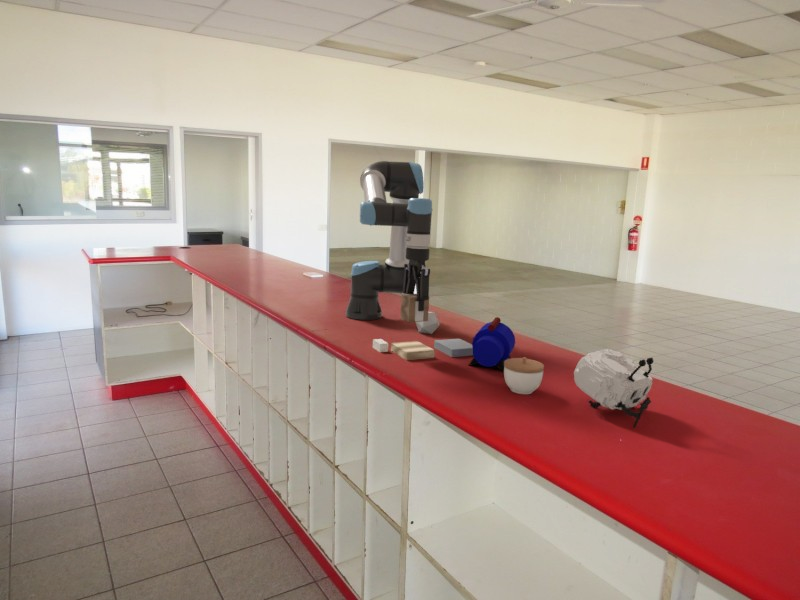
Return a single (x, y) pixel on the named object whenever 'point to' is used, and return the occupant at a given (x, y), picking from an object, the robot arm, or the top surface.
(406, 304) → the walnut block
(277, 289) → the top surface
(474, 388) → the top surface
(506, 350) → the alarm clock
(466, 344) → the grey slab
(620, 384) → the robot
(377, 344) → the white brick
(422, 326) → the die
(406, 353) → the oak slab
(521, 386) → the lidded jar
